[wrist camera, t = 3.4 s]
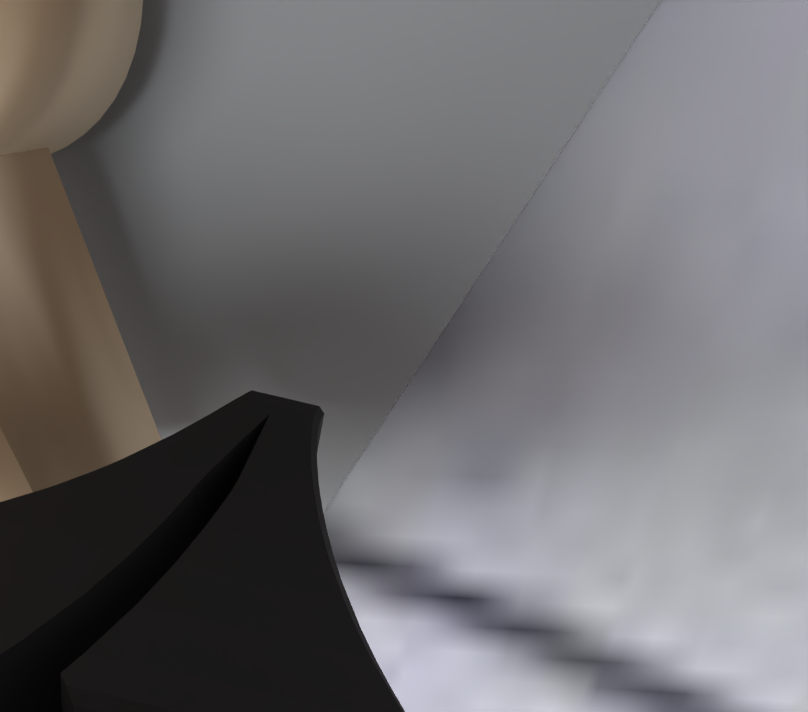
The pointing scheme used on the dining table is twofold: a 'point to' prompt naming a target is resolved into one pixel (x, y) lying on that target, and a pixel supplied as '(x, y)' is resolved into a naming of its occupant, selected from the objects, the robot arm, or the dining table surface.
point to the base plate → (322, 188)
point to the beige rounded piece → (58, 251)
